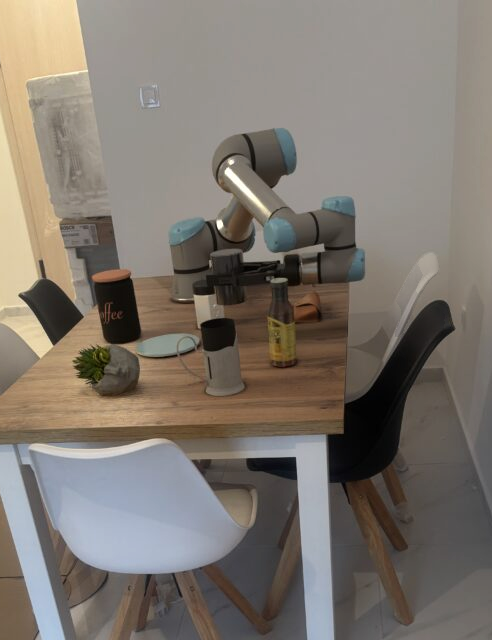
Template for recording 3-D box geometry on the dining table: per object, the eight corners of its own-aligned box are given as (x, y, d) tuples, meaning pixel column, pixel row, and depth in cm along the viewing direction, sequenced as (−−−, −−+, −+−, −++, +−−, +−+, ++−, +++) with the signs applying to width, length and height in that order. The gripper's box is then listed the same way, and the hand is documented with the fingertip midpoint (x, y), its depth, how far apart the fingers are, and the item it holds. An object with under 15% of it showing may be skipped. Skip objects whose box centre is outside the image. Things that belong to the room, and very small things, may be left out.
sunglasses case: (290, 304, 225) (300, 283, 222) (311, 314, 227) (322, 294, 223) (291, 322, 210) (302, 300, 207) (314, 333, 211) (325, 311, 208)
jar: (205, 331, 213) (200, 288, 207) (190, 326, 219) (185, 284, 214) (232, 323, 217) (227, 280, 211) (217, 318, 223) (212, 277, 217)
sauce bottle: (266, 363, 184) (258, 279, 175) (289, 357, 186) (283, 274, 176) (278, 370, 179) (271, 284, 169) (302, 364, 181) (296, 279, 171)
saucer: (146, 340, 213) (145, 335, 212) (205, 336, 209) (205, 331, 209) (128, 360, 199) (127, 355, 198) (192, 357, 195) (191, 352, 194)
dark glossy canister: (219, 298, 199) (213, 250, 193) (249, 295, 197) (244, 247, 191) (213, 306, 192) (207, 257, 186) (244, 304, 190) (239, 254, 184)
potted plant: (140, 385, 171) (71, 379, 167) (133, 406, 183) (69, 400, 180) (141, 335, 174) (74, 328, 170) (134, 359, 186) (71, 352, 182)
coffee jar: (96, 341, 217) (83, 277, 208) (125, 331, 223) (113, 267, 214) (121, 346, 210) (108, 280, 201) (149, 335, 216) (139, 270, 208)
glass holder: (250, 389, 170) (243, 323, 163) (190, 404, 167) (180, 337, 159) (236, 378, 177) (229, 314, 170) (178, 392, 174) (168, 327, 167)
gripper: (297, 296, 180) (203, 302, 185) (305, 275, 198) (219, 281, 203) (295, 263, 177) (199, 271, 182) (304, 244, 194) (216, 252, 199)
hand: (210, 276), depth 192 cm, fingers closed on dark glossy canister, 8 cm apart
